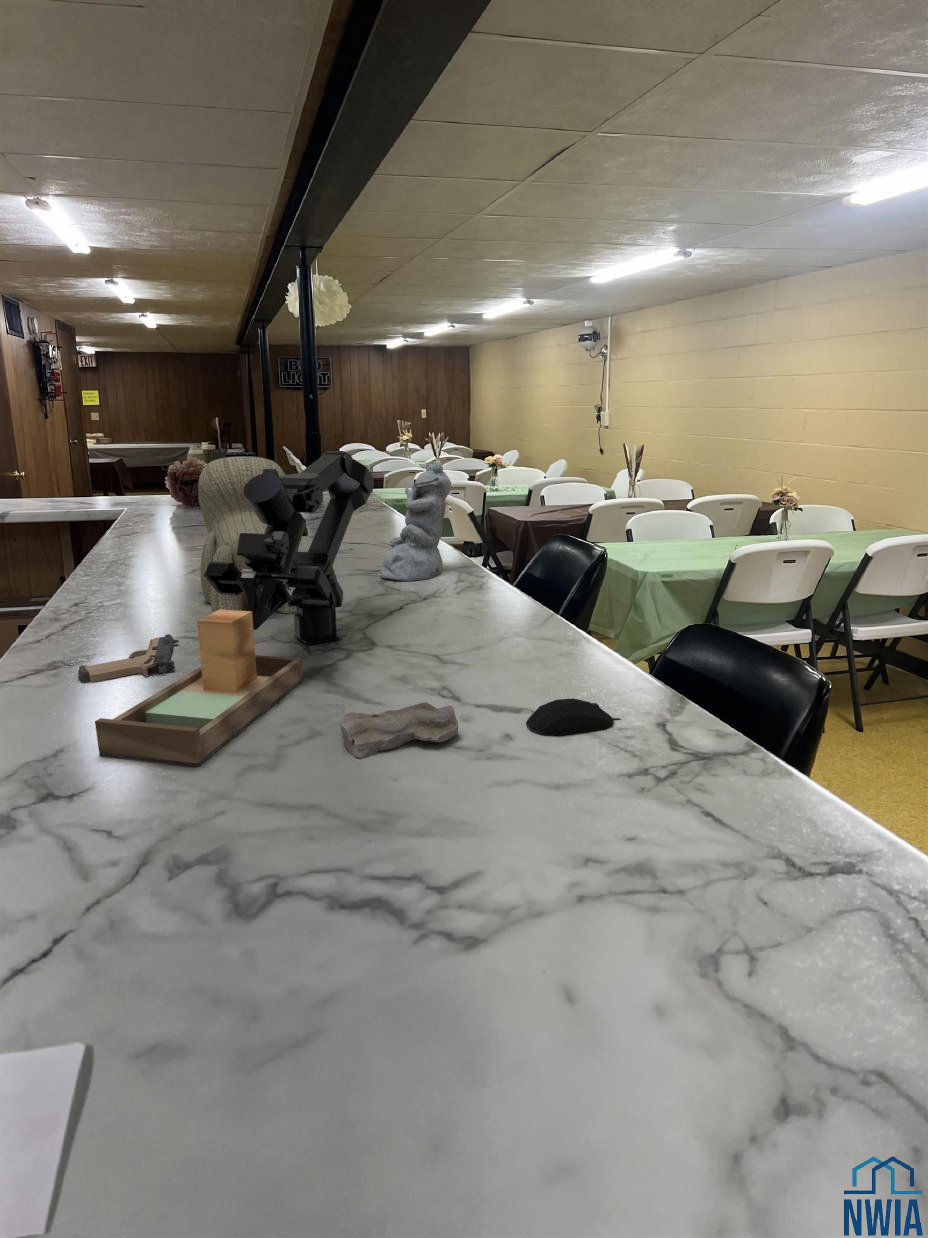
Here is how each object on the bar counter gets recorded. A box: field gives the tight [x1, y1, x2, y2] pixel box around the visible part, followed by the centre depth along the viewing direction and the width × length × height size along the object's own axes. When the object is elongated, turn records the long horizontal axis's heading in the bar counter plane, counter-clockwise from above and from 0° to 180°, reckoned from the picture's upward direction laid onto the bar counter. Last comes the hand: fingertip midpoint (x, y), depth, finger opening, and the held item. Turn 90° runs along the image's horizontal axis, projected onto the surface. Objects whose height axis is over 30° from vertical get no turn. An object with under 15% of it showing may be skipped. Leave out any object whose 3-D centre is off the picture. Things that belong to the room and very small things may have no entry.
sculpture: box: [379, 461, 452, 582], centre depth 187 cm, size 18×16×30 cm
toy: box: [197, 455, 299, 615], centre depth 161 cm, size 21×30×30 cm
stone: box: [339, 701, 459, 760], centre depth 98 cm, size 15×10×4 cm, turn 108°
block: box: [196, 609, 257, 693], centre depth 108 cm, size 6×5×10 cm
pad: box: [145, 691, 244, 730], centre depth 102 cm, size 8×11×2 cm
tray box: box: [94, 654, 304, 768], centre depth 105 cm, size 30×13×4 cm, turn 168°
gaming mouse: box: [525, 698, 621, 737], centre depth 102 cm, size 6×15×4 cm, turn 105°
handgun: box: [77, 633, 180, 684], centre depth 127 cm, size 19×3×14 cm
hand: (252, 628), depth 114 cm, fingers closed
